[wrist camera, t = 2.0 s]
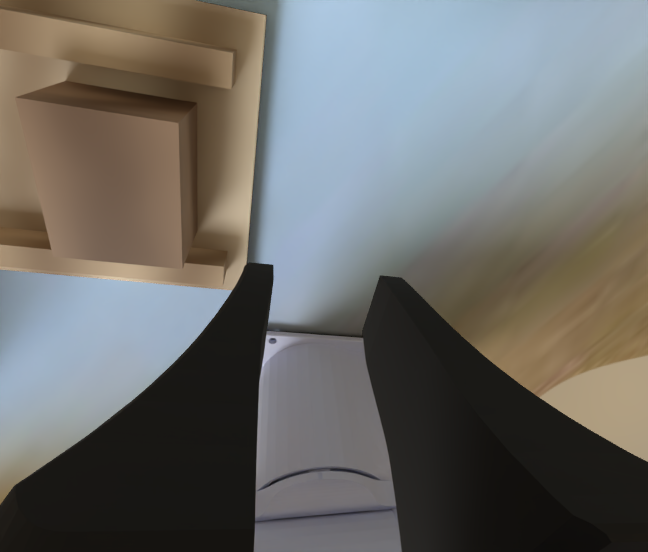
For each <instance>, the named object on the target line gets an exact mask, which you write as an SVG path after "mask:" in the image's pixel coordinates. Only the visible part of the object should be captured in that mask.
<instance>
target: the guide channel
mask: <svg viewBox="0 0 648 552" xmlns="http://www.w3.org/2000/svg"><path fill="white" fill-rule="evenodd" d="M266 19H267V15H264V14H259V13H254V12H249V11H245V10H240V9H235V8H230V7H225V6H221V5H216V4H211V3H206V2H202V1H197V0H0V269H1V270H12V271H23V272H34V273H45V274H57V275H68V276H79V277H90V278H101V279H112V280H123V281H135V282H146V283H157V284H168V285H179V286H190V287H201V288H213V289H224V290H233V289H234V287H235V285H236V284H237V282H238V280H239V278H240V276H241V274H242V272H243V269H244V266H245V265H247V256H248V243H249V231H250V218H251V206H252V193H253V181H254V168H255V156H256V143H257V131H258V118H259V106H260V93H261V81H262V68H263V56H264V44H265V31H266ZM63 81H69V82H75V83H81V84H87V85H93V86H99V87H105V88H111V89H117V90H123V91H129V92H135V93H141V94H147V95H153V96H159V97H165V98H171V99H177V100H183V101H189V102H195V103H197V215H198V231H197V233H196V236H195V238H194V241H193V244H192V246H191V249H190V251H189V254H188V256H187V259H186V262H185V264H184V267H183V269H175V268H165V267H154V266H144V265H134V264H123V263H113V262H103V261H92V260H82V259H71V258H61V257H53V254H52V250H51V245H50V241H49V237H48V233H47V229H46V225H45V220H44V216H43V212H42V208H41V204H40V200H39V196H38V191H37V187H36V183H35V179H34V175H33V171H32V166H31V162H30V158H29V154H28V150H27V146H26V142H25V137H24V133H23V129H22V125H21V121H20V117H19V113H18V108H17V104H16V100H15V97H18V96H21V95H24V94H27V93H30V92H33V91H36V90H39V89H42V88H45V87H48V86H51V85H54V84H57V83H60V82H63Z"/></svg>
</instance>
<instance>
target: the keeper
mask: <svg viewBox="0 0 648 552" xmlns="http://www.w3.org/2000/svg"><path fill="white" fill-rule="evenodd" d="M15 100H16V104H17V108H18V113H19V117H20V121H21V125H22V129H23V133H24V137H25V142H26V146H27V150H28V154H29V158H30V162H31V166H32V171H33V175H34V179H35V183H36V187H37V191H38V196H39V200H40V204H41V208H42V212H43V216H44V220H45V225H46V229H47V233H48V237H49V241H50V245H51V250H52V254H53V257H61V258H71V259H82V260H92V261H103V262H113V263H123V264H134V265H144V266H154V267H165V268H175V269H183V267H184V264H185V262H186V259H187V256H188V254H189V251H190V249H191V246H192V244H193V241H194V238H195V236H196V233H197V231H198V215H197V103H195V102H189V101H183V100H177V99H171V98H165V97H159V96H153V95H147V94H141V93H135V92H129V91H123V90H117V89H111V88H105V87H99V86H93V85H87V84H81V83H75V82H69V81H63V82H60V83H57V84H54V85H51V86H48V87H45V88H42V89H39V90H36V91H33V92H30V93H27V94H24V95H21V96H18V97H15Z"/></svg>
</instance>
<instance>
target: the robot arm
mask: <svg viewBox="0 0 648 552" xmlns="http://www.w3.org/2000/svg"><path fill="white" fill-rule="evenodd" d="M272 287H273V265H269V264H259V263H248V264H247V265H245V266H244V269H243V272H242V274H241V276H240V278H239V280H238V282H237V284H236V285H235V287H234V289H233V290H232V292H231V294H230V295H229V297H228V298H227V300H226V301H225V303H224V304H223V305H222V307H221V308H220V310H219V311H218V313H217V314H216V315H215V317H214V318H213V319H212V320H211V322H210V323H209V324H208V325H207V327H206V328H205V329H204V330H203V332H202V333H201V334H200V335H199V336H198V338H197V339H196V340H195V341H194V342H193V343H192V344H191V345H190V347H189V348H188V349H187V350H186V351H185V352H184V353H183V354H182V355H181V356H180V357H179V358H178V359H177V360H176V361H175V362H174V363H173V364H172V365H171V366H170V367H169V368H168V369H167V370H166V371H165V372H164V373H163V374H162V375H161V376H159V377H158V378H157V379H156V380H155V381H154V382H153V383H152V384H151V385H150V386H149V387H148V388H146V389H145V390H144V391H143V392H142V393H141V394H139V395H138V396H137V397H136V398H135V399H134V400H132V401H131V402H130V403H129V404H127V405H126V406H125V407H123V408H122V409H121V410H120V411H118V412H117V413H116V414H115V415H113V416H112V417H111V418H110V419H108V420H107V421H106V422H104V423H103V424H102V425H101V426H99V427H98V428H97V429H96V430H94V431H93V432H92V433H90V434H89V435H88V436H86V437H85V438H83V439H82V440H81V441H79V442H78V443H76V444H75V445H73V446H72V447H71V448H69V449H68V450H66V451H65V452H63V453H62V454H60V455H59V456H57V457H56V458H54V459H53V460H52V461H50V462H49V463H47V464H46V465H44V466H43V467H41V468H40V469H38V470H37V471H36V472H34V473H33V474H31V475H30V476H28V477H27V478H25V479H24V480H22V481H21V482H19V483H18V484H16V485H15V486H14V487H13V488H12V490H11V491H10V492H9V494H8V495H7V496H6V498H5V499H4V501H3V502H2V503H1V505H0V552H648V462H647V461H645V460H643V459H641V458H639V457H637V456H635V455H633V454H631V453H629V452H627V451H626V450H624V449H622V448H620V447H618V446H616V445H615V444H613V443H611V442H610V441H608V440H606V439H605V438H603V437H601V436H599V435H598V434H596V433H594V432H592V431H591V430H589V429H587V428H586V427H584V426H582V425H581V424H579V423H577V422H576V421H574V420H573V419H571V418H569V417H568V416H566V415H565V414H563V413H561V412H560V411H558V410H557V409H555V408H554V407H552V406H551V405H549V404H548V403H546V402H545V401H543V400H542V399H540V398H539V397H537V396H536V395H534V394H533V393H532V392H530V391H529V390H527V389H526V388H525V387H523V386H522V385H520V384H519V383H518V382H516V381H515V380H514V379H513V378H511V377H510V376H509V375H507V374H506V373H505V372H503V371H502V370H501V369H499V368H498V367H497V366H496V365H494V364H493V363H492V362H491V361H489V360H488V359H487V358H486V357H485V356H483V355H482V354H481V353H480V352H479V351H478V350H477V349H475V348H474V347H473V346H472V345H471V344H470V343H469V342H467V341H466V340H465V339H464V338H463V337H462V336H461V335H460V334H459V333H458V332H457V331H455V330H454V329H453V328H452V327H451V326H450V325H449V324H448V323H447V322H446V321H445V320H444V319H443V318H442V317H441V316H440V315H439V314H438V313H437V312H436V311H435V310H434V309H433V308H432V307H431V306H430V305H429V304H428V303H427V302H426V301H425V300H424V299H423V298H422V297H421V296H420V295H419V294H418V293H417V292H416V291H415V290H414V289H413V288H412V287H411V286H410V285H409V284H408V283H407V282H406V281H405V280H403V279H402V278H399V277H389V276H380V277H379V280H378V284H377V287H376V290H375V293H374V296H373V299H372V302H371V306H370V309H369V312H368V315H367V318H366V321H365V324H364V327H363V331H362V332H363V338H357V337H343V336H330V335H316V334H303V333H289V332H275V331H267V326H268V318H269V310H270V303H271V295H272ZM270 338H275V339H274V340H272V339H270Z"/></svg>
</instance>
